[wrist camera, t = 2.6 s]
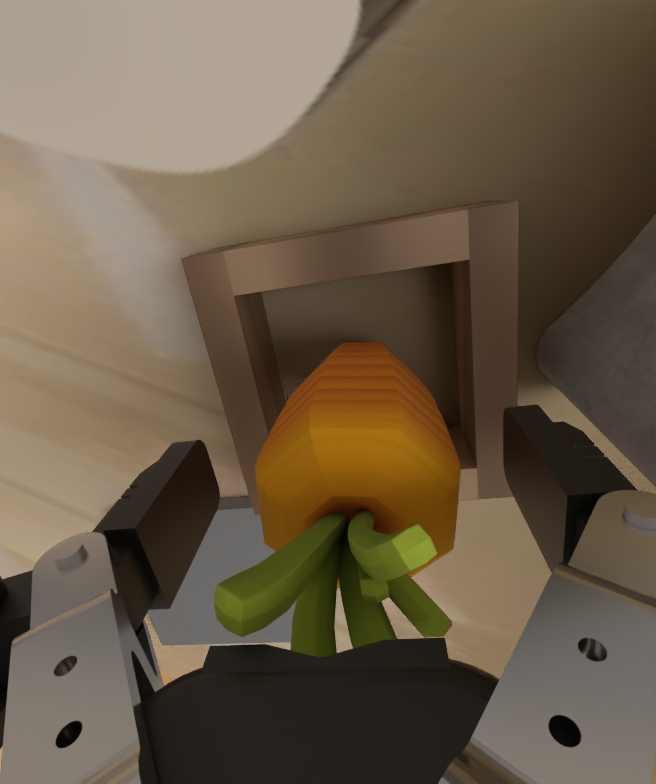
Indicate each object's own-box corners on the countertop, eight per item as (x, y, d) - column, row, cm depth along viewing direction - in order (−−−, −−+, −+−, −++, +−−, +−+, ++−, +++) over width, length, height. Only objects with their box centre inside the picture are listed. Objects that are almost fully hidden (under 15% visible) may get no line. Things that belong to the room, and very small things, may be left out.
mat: (286, 493, 23) (283, 505, 22) (319, 626, 26) (317, 641, 26) (114, 506, 24) (104, 519, 23) (169, 630, 28) (162, 645, 27)
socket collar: (489, 200, 16) (518, 200, 13) (494, 450, 20) (516, 496, 17) (215, 248, 18) (181, 258, 15) (271, 470, 22) (254, 515, 19)
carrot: (289, 328, 19) (79, 651, 5) (395, 281, 18) (473, 547, 4) (336, 420, 21) (267, 848, 7) (436, 383, 19) (590, 816, 6)
